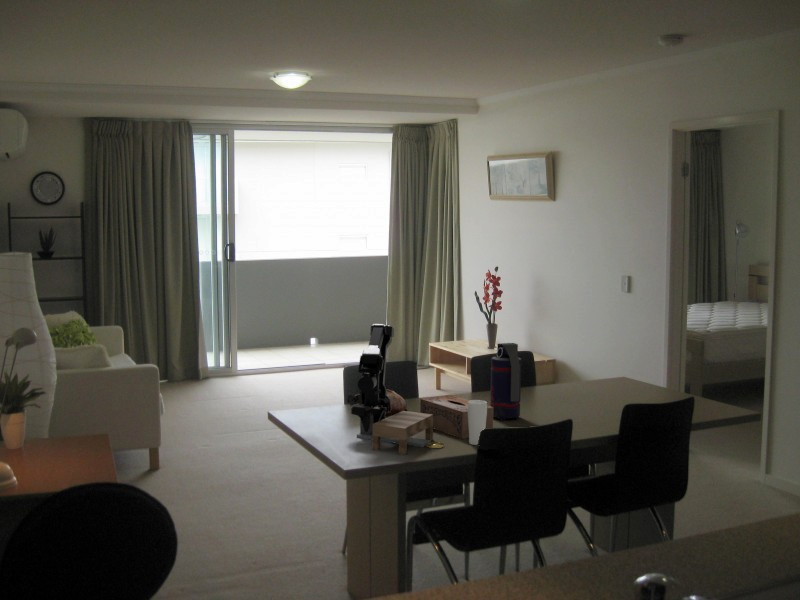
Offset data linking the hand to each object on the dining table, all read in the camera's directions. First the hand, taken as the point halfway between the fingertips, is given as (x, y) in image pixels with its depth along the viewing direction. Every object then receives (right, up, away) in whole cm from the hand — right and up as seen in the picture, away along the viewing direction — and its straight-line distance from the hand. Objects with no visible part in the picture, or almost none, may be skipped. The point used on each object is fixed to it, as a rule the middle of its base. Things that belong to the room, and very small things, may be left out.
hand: (370, 429), depth 299 cm
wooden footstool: (+12, -4, -10) cm, 16 cm away
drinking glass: (+38, -4, -7) cm, 38 cm away
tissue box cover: (+32, -2, +14) cm, 35 cm away
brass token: (+23, -4, -11) cm, 26 cm away
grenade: (+53, 0, +32) cm, 62 cm away
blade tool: (+8, -3, -4) cm, 10 cm away
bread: (+4, +1, +42) cm, 42 cm away
